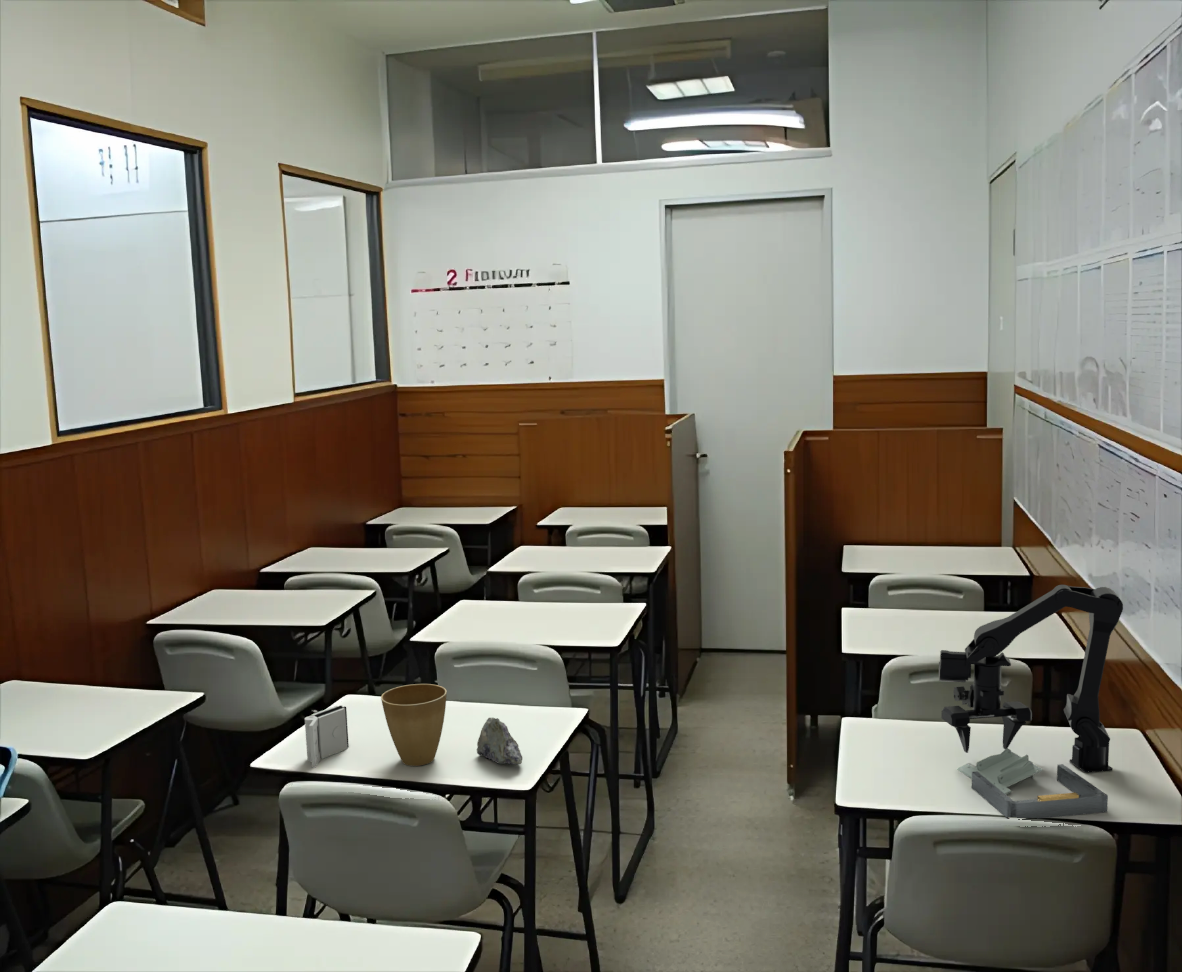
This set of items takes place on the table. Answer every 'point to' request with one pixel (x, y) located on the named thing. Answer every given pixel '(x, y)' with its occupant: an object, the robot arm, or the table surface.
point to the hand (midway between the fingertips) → (985, 750)
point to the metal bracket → (1003, 769)
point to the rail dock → (1046, 798)
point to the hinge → (326, 733)
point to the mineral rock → (498, 743)
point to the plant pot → (415, 720)
